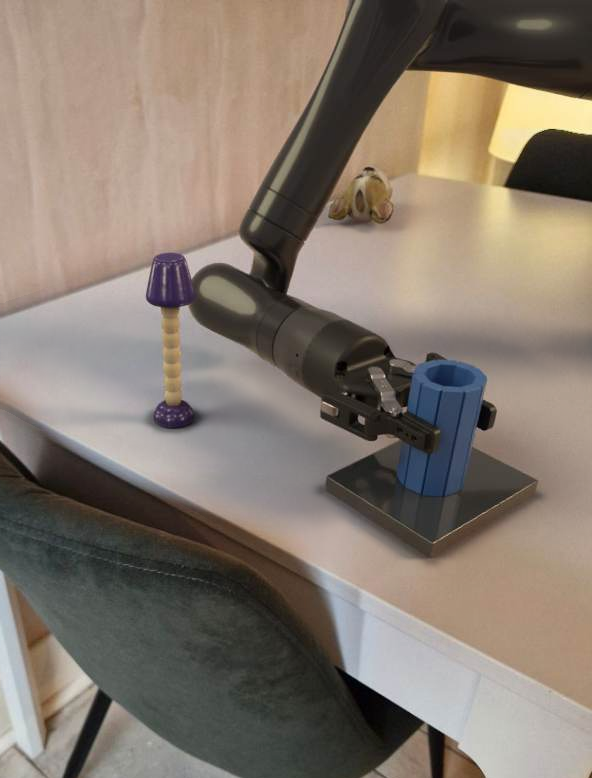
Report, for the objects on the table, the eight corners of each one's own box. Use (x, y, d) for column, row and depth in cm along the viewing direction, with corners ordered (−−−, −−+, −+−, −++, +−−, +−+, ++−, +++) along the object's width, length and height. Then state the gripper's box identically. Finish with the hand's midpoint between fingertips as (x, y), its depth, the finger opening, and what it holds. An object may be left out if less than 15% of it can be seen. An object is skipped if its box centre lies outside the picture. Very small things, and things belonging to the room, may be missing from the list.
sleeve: (395, 458, 70) (411, 357, 64) (460, 462, 69) (482, 361, 63) (397, 493, 65) (414, 389, 59) (467, 499, 64) (491, 394, 58)
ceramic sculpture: (408, 156, 131) (392, 184, 120) (402, 207, 136) (386, 238, 126) (346, 153, 134) (326, 179, 123) (343, 203, 139) (323, 233, 129)
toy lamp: (157, 404, 81) (147, 247, 71) (200, 406, 81) (196, 248, 71) (150, 428, 78) (138, 265, 67) (196, 429, 77) (190, 266, 67)
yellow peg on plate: (428, 438, 75) (442, 358, 70) (534, 494, 67) (560, 408, 62) (324, 489, 68) (332, 405, 63) (429, 558, 61) (448, 468, 56)
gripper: (271, 338, 68) (407, 416, 56) (390, 302, 74) (535, 366, 62) (268, 412, 72) (394, 498, 61) (381, 372, 78) (514, 444, 67)
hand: (464, 431), depth 62 cm, fingers closed on sleeve, 6 cm apart
